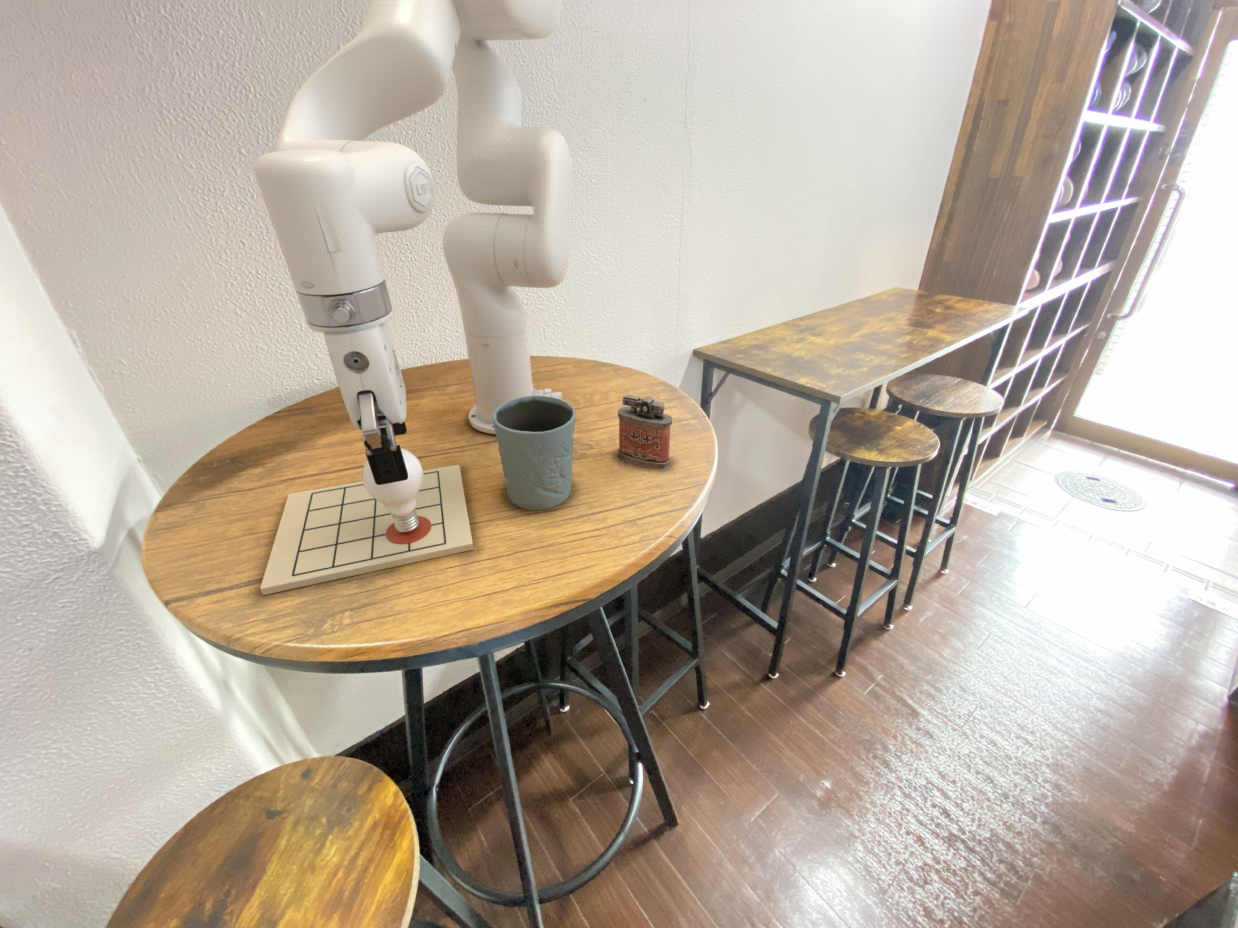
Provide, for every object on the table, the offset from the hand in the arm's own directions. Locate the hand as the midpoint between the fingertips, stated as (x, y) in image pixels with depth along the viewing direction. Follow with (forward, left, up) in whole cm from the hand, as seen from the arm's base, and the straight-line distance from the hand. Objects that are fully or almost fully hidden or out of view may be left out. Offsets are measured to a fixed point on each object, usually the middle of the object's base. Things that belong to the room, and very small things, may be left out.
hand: (392, 456), depth 59 cm
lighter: (-33, -6, -11) cm, 35 cm away
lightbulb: (0, +1, -10) cm, 10 cm away
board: (+4, -3, -11) cm, 12 cm away
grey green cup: (-17, -3, -11) cm, 20 cm away
